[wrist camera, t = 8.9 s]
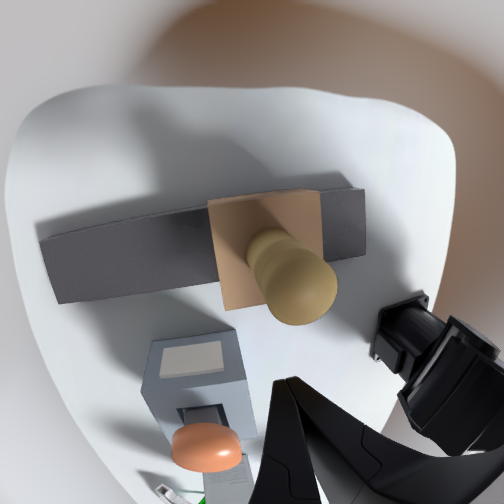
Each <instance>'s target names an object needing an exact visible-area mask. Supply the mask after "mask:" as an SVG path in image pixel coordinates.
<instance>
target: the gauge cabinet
mask: <svg viewBox="0 0 504 504" xmlns="http://www.w3.org/2000/svg"><path fill="white" fill-rule="evenodd" d="M140 392H141V394H142V396H143V398H144V400H145V402H146V403H147V405H148V407H149V409H150V411H151V413H152V414H153V416H154V418H155V420H156V421H157V423H158V425H159V427H160V428H161V430H162V432H163V433H164V435H165V436H166V438H167V440H168V441H169V443H170V444H171V446H172V436H173V434H174V432H175V431H176V430H178V429H179V428H181V427H183V426H185V410H193V409H202V408H210V407H216V408H217V411H218V413H219V416H220V419H221V422H222V425H223V426H226V427H229V428H231V429H232V430H234V431H235V432H236V433H237V434H238V437H239V441H240V440H246V439H252V438H257V437H258V433H257V429H256V424H255V419H254V414H253V409H252V404H251V398H250V393H249V388H248V383H247V378H246V374H245V369H244V365H243V360H242V356H241V351H240V347H239V342H238V338H237V333H236V330H230V331H224V332H218V333H212V334H205V335H199V336H192V337H184V338H177V339H169V340H161V341H152V344H151V348H150V352H149V356H148V360H147V364H146V369H145V373H144V377H143V382H142V387H141V391H140Z"/></svg>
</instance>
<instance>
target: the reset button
mask: <svg viewBox="0 0 504 504" xmlns="http://www.w3.org/2000/svg"><path fill="white" fill-rule="evenodd" d="M172 459H173V461H174V462H175V463H176V464H177V465H179V466H180V467H182V468H184V469H187V470H190V471H195V472H203V473H212V472H220V471H225V470H228V469H231V468H233V467H235V466H236V465H238V464H239V463H240V461H241V460H242V452H241V447H240V441H239V437H238V434H237V433H236V432H235V431H234V430H232V429H231V428H229V427H226V426H223V425H222V422H221V419H220V416H219V413H218V411H217V408H216V407H210V408H202V409H193V410H185V426H183V427H181V428H179V429H178V430H176V431H175V432H174V434H173V436H172Z"/></svg>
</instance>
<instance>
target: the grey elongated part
mask: <svg viewBox="0 0 504 504" xmlns="http://www.w3.org/2000/svg"><path fill="white" fill-rule="evenodd" d="M154 491H155V492H156V493H157V494H158V495H159V496H158V498H160V499H161V500H162V501H163V502H164V503H165V504H192V503H190V502H189V501H187V500H185V499H183V498H181V497H179V496H177V495H176V494H175V492H174V491H173V490H172V489H170V488H169V487H167V486H166V485H164V484H162V483H161V484H160V485H159V486H158V487H157V488H156V489H155V490H154ZM199 504H206V501H205V496H204V498H203V499H202V500H201V501H200V502H199Z"/></svg>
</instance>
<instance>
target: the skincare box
mask: <svg viewBox="0 0 504 504" xmlns="http://www.w3.org/2000/svg"><path fill="white" fill-rule="evenodd" d="M202 473H203V472H202ZM203 483H204V493H205V501H206V504H248V502H249V500H250V497H251V494H252V492H253V489H254V486H255V484H254V481H253V477H252V472H251V468H250V464H249V460H248V456H247V455H242V460H241V461H240V463H239V464H238V465H236V466H235V467H233V468H231V469H228V470H225V471H220V472H212V473H203Z"/></svg>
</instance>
